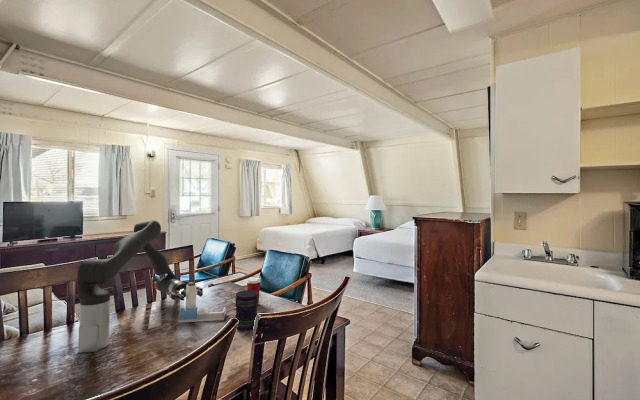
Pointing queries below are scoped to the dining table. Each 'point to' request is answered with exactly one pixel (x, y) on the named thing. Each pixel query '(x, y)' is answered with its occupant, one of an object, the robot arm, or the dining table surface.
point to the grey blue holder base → (200, 315)
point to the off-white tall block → (191, 296)
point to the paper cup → (254, 285)
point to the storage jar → (246, 309)
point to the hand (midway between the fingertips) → (192, 296)
